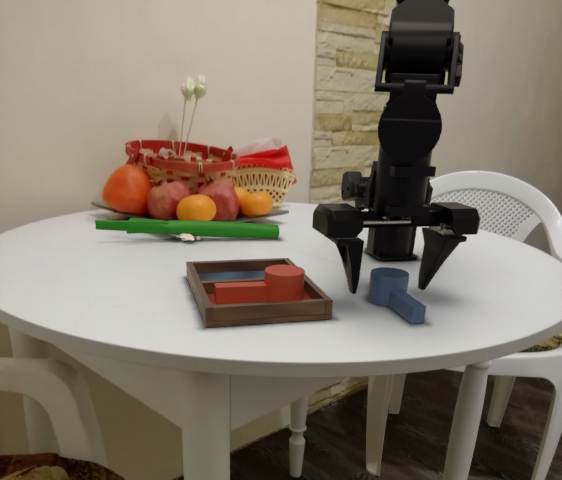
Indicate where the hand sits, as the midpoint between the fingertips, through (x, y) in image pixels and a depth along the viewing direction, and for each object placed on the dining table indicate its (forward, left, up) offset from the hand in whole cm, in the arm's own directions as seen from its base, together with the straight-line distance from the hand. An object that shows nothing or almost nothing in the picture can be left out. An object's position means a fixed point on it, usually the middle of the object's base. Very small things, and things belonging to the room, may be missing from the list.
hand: (387, 291), depth 66 cm
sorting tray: (+16, -4, -1) cm, 17 cm away
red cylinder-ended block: (+16, 0, 0) cm, 16 cm away
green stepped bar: (+20, -34, -1) cm, 39 cm away
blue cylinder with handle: (0, +3, -1) cm, 3 cm away
